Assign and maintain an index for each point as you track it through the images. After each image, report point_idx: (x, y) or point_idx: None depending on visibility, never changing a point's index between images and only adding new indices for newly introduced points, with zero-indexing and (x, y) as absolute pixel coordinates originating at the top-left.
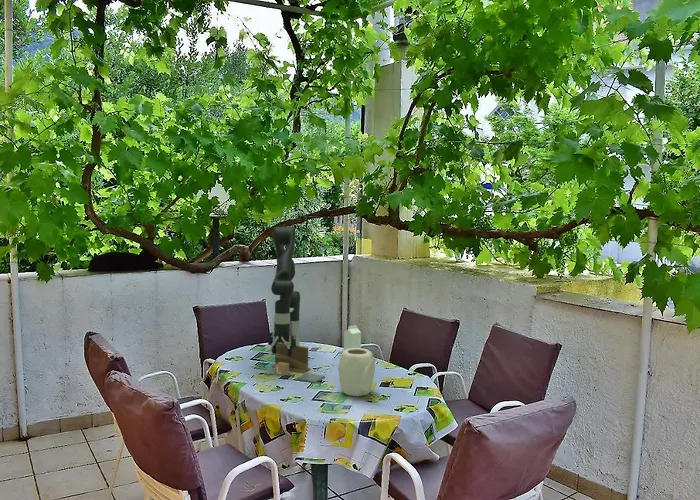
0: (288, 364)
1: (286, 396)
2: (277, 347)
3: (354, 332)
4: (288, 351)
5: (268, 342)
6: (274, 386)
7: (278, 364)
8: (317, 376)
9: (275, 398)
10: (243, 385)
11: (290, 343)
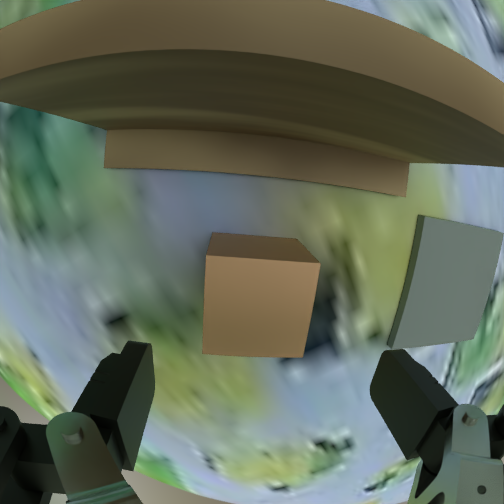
0: (316, 269)
1: (379, 474)
2: (32, 94)
3: None
4: (404, 435)
5: (20, 489)
6: (308, 450)
7: (238, 342)
8: (480, 260)
9: (349, 494)
10: (175, 475)
11: (483, 468)
